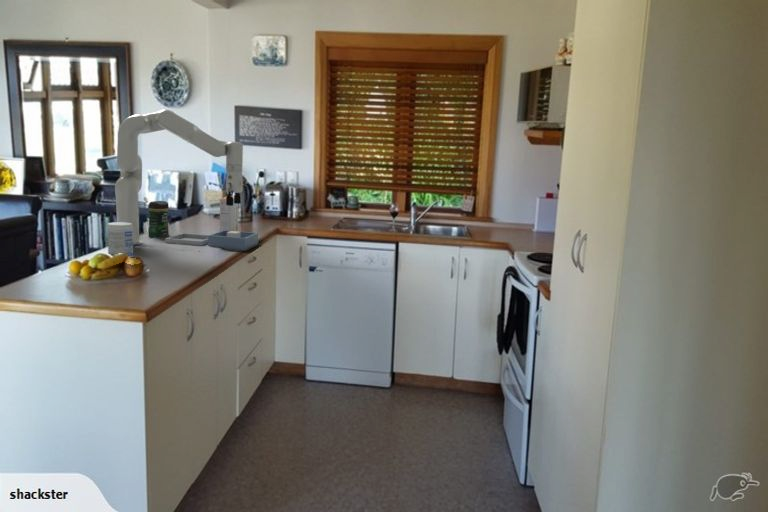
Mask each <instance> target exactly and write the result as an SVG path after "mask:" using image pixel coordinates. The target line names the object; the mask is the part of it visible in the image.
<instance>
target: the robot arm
mask: <svg viewBox="0 0 768 512" xmlns="http://www.w3.org/2000/svg"><path fill="white" fill-rule="evenodd" d="M164 130H165V131H168V132H169V133H171V134H173V135H175V136H176V137H178V138H180V139H182V140H183V141H185V142H186V143H189V144H191V145H193V146H195V147H196V148H198V149H200V150H201V151H203V152H205V153H207V154H209V155H211V156H212V157H215V158H220V157H225V171H226V178H225V179H226V182H225V197H226V205H229V206H233V196H234V203H236V204H238V205H239V204H241V203H242V193H243V190H244V189H243V186H244V185H243V184H244V183H243V160H244V159H243V153H244V146H243V145H244V144H243V143H242V142H239V141H223V140H219V139H217V138H215V137H213V136H212V135H209V134H208V133H207V132H205V131H203V130H202V129H200V128H199V127H198V126H197V125H195V124H194V123H192V122H191V121H189V120H187V119H185V118H183V117H182V116H180V115H178V114H177V113H175V112H174V111H173V110H170V109H165V108H164V109H160V110H159V111H156V112H151V113H147V114H133V115H130V116H128V117H126V118H125V119H124V120H123V121H122V122H121V124H119V127H118V130H117V146H116V147H117V148H116V151H117V152H116V165H117V168H118V170H120V177H119V178H118V179H117V180H116V183H115V185H114V194H115V201H116V202H115V203H116V205H115V206H116V207H115V208H116V222H126V223H132V227H133V247H137V246H138V245H139V244H140V245H141V244H143V243H144V241H143V240H141V239H140V209H139V208H140V207H139V204H140V203H139V192H140V191H141V190H142V185H143V161H142V157H141V156H140V155H139V154H138V147H139V146H138V145H139V144H138V143H139V141H138V137H139V135H140V134H142V135H143V134H145V135H146V134H150V133H153V132H159V131H164Z"/></svg>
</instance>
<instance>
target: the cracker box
mask: <svg viewBox="0 0 768 512" xmlns="http://www.w3.org/2000/svg"><path fill="white" fill-rule="evenodd" d="M222 230H228V231H239V204H236V203H234V195H233V206H229V205H226V196H225V197H221V198H219V231H222Z"/></svg>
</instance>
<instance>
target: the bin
mask: <svg viewBox="0 0 768 512" xmlns="http://www.w3.org/2000/svg"><path fill="white" fill-rule="evenodd" d="M227 232H229V231H228V230H222V231H220V230H219V231H217V232H214V233H212V234H207V235H208V243H207V244H208V247H215V248H221V250H226V251H227V250H229V251H239V252H246V251H248V250H251V249H253V248H255V247H257V246H258V245H259V233H258V232H253V231H252V232H250V231H239V230H238V231H237V232H241V238H238V237H227Z"/></svg>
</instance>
